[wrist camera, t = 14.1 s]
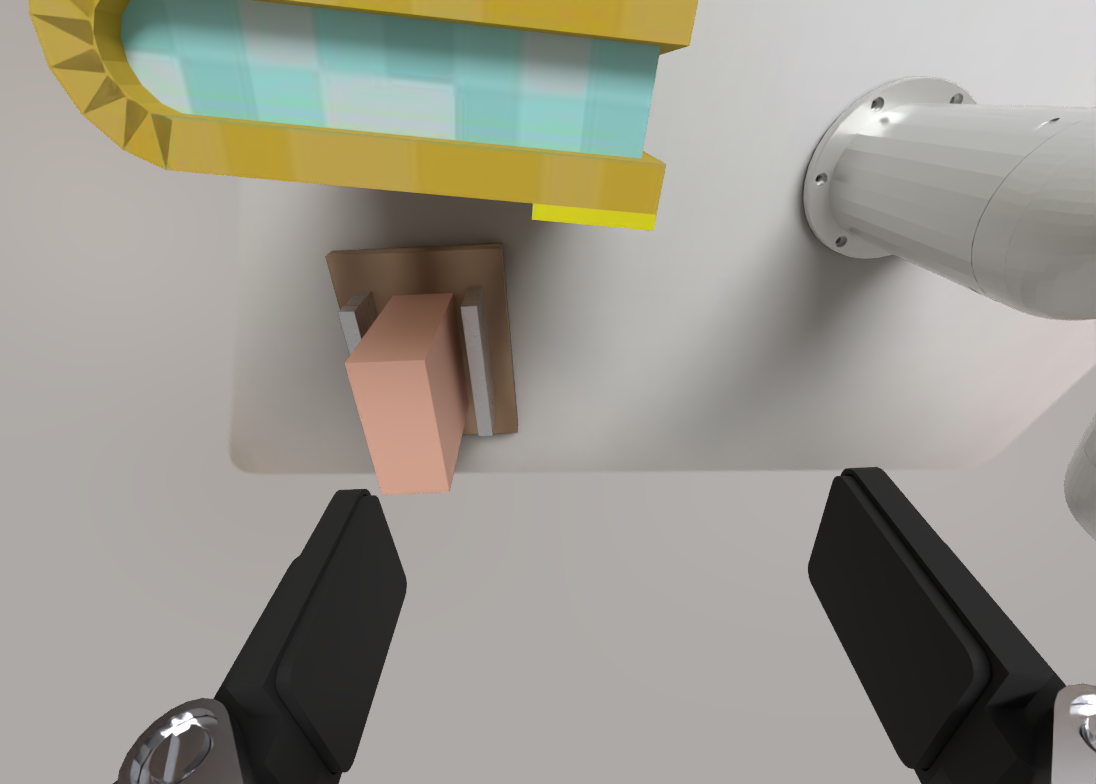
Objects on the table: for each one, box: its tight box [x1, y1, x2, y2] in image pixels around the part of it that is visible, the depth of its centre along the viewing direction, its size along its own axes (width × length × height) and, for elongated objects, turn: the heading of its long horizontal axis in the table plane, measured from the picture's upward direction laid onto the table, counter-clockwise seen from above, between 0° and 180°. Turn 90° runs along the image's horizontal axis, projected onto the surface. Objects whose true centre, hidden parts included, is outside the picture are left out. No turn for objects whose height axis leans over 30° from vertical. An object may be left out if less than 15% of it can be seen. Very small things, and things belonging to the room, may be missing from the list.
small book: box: [345, 293, 469, 495], centre depth 39 cm, size 5×11×12 cm, turn 2°
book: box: [29, 0, 698, 230], centre depth 24 cm, size 17×7×25 cm, turn 85°
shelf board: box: [325, 243, 518, 435], centre depth 44 cm, size 14×18×2 cm
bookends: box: [338, 286, 496, 436], centre depth 42 cm, size 10×12×4 cm
